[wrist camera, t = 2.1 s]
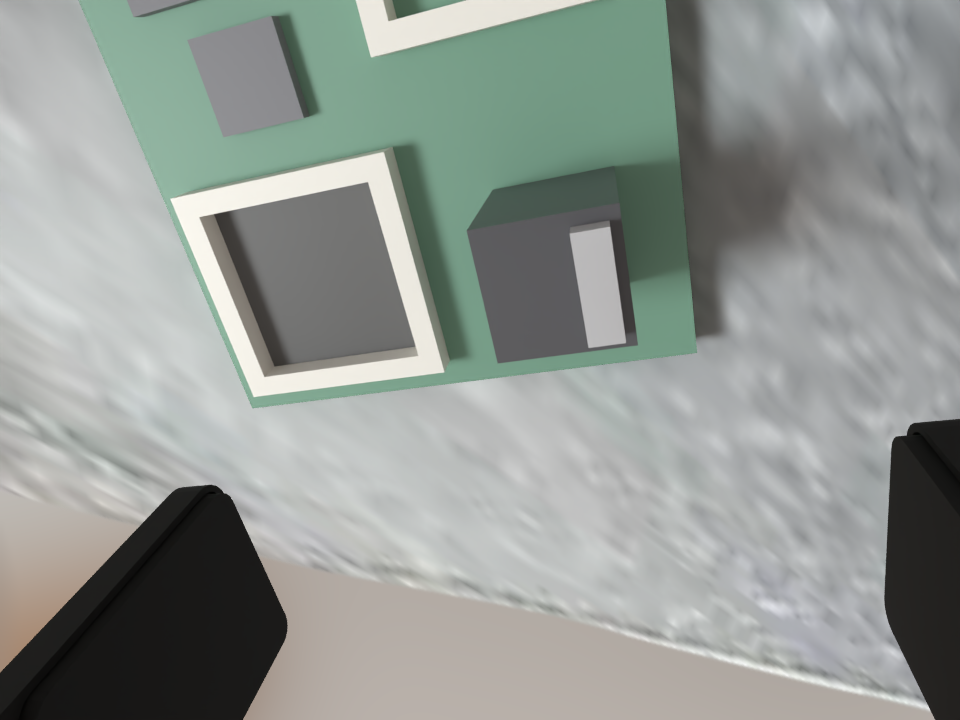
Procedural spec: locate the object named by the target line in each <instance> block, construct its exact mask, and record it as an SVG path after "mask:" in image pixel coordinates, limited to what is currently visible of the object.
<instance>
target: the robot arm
mask: <svg viewBox="0 0 960 720" xmlns="http://www.w3.org/2000/svg"><path fill="white" fill-rule="evenodd" d="M884 600H885V610H886V614H887V618H888V622H889V625H890V627H891V630H892V632H893V634H894V636H895V638H896V640H897V642H898V644H899V646H900V649H901V651H902V653H903V655H904V657H905V659H906V661H907V663H908V665H909V667H910V669H911V671H912V673H913V675H914V677H915V679H916V681H917V683H918V685H919V687H920V690H921V692H922V694H923V696H924V698H925V700H926V702H927V704H928V706H929V708H930V710H931V712H932V714H933V716H934V718H935V720H960V419H955V420H943V421H932V422H920V423H913V424H912V425H910V427H909V429H908V432H907V436H898V437H895V438H894V440H893V442H892V449H891V470H890V491H889V512H888V533H887V554H886V575H885V596H884ZM286 634H287V618H286V615H285V613H284V611H283V609H282V607H281V604H280V602H279V600H278V598H277V596H276V593H275V591H274V589H273V587H272V585H271V583H270V580H269V579H268V576H267V574H266V572H265V570H264V567H263V565H262V563H261V561H260V559H259V557H258V554H257V552H256V550H255V548H254V546H253V544H252V541H251V539H250V537H249V535H248V533H247V531H246V528H245V526H244V524H243V522H242V520H241V518H240V515H239V513H238V511H237V509H236V507H235V504H234V502H233V500H232V499H231V497H230V496H229V495H227V494H225V493H223V491H222V490H221V489H220V488H219V487H217V486H214V485H204V486H192V487H182V488H178V489H176V490H175V491H173V492H172V493H171V494H170V495H169V496H168V497H167V498H166V499H165V500H164V501H163V502H162V503H161V504H160V505H159V507H158V508H157V509H156V510H155V511H154V512H153V513H152V514H151V515H150V516H149V517H148V518H147V519H146V520H145V521H144V522H143V523H142V524H141V525H140V527H139V528H138V529H137V530H136V531H135V532H134V533H133V534H132V535H131V536H130V537H129V538H128V539H127V540H126V541H125V542H124V543H123V544H122V545H121V546H120V548H119V549H118V550H117V551H116V552H115V553H114V554H113V555H112V556H111V557H110V558H109V559H108V560H107V561H106V562H105V563H104V564H103V566H101V567H100V569H99V570H98V571H97V572H96V573H95V574H94V575H93V576H92V577H91V578H90V579H89V580H88V581H87V582H86V583H85V584H84V585H83V587H81V588H80V590H79V591H78V592H77V593H76V594H75V595H74V596H73V597H72V598H71V599H70V600H69V601H68V602H67V603H66V604H65V605H64V606H63V607H62V609H60V611H59V612H58V613H57V614H56V615H55V616H54V617H53V618H52V619H51V620H50V621H49V622H48V623H47V624H46V625H45V626H44V628H42V629H41V630H40V632H39V633H38V634H37V635H36V636H35V637H34V638H33V639H32V640H31V641H30V642H29V643H28V644H27V645H26V646H25V647H24V648H23V649H22V650H21V652H20V653H19V654H18V655H17V656H16V657H15V658H14V659H13V660H12V661H11V662H10V663H9V664H8V665H7V666H6V667H5V668H4V669H3V670H2V672H1V673H0V720H243V718H244V716H245V715H246V713H247V711H248V709H249V707H250V705H251V703H252V701H253V700H254V698H255V696H256V694H257V692H258V690H259V688H260V686H261V684H262V683H263V681H264V678H265V677H266V675H267V673H268V671H269V669H270V667H271V666H272V664H273V662H274V660H275V658H276V656H277V654H278V652H279V650H280V648H281V646H282V645H283V643H284V641H285V638H286Z"/></svg>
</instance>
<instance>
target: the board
mask: <svg viewBox="0 0 960 720" xmlns="http://www.w3.org/2000/svg"><path fill="white" fill-rule="evenodd" d="M79 3H80V5H81V7H82V10H83V12H84V14H85V17H86V19H87V21H88V24H89V26H90V28H91V31H92V33H93V35H94V38H95V40H96V42H97V45H98V47H99V50H100V52H101V54H102V57H103V59H104V61H105V64H106V66H107V68H108V71H109V73H110V75H111V78H112V80H113V82H114V85H115V87H116V89H117V92H118V94H119V96H120V99H121V101H122V103H123V106H124V108H125V110H126V113H127V115H128V118H129V120H130V122H131V125H132V127H133V129H134V132H135V134H136V136H137V139H138V141H139V143H140V146H141V148H142V150H143V153H144V155H145V157H146V160H147V162H148V164H149V167H150V169H151V171H152V174H153V176H154V178H155V181H156V183H157V186H158V188H159V190H160V193H161V195H162V197H163V200H164V202H165V204H166V207H167V209H168V211H169V214H170V216H171V218H172V221H173V223H174V225H175V228H176V230H177V232H178V235H179V237H180V239H181V242H182V244H183V246H184V249H185V251H186V254H187V256H188V258H189V261H190V263H191V265H192V268H193V270H194V272H195V275H196V277H197V279H198V282H199V284H200V286H201V289H202V291H203V293H204V296H205V298H206V300H207V303H208V305H209V307H210V310H211V312H212V314H213V317H214V319H215V322H216V324H217V326H218V329H219V331H220V333H221V336H222V338H223V340H224V343H225V345H226V347H227V350H228V352H229V354H230V357H231V359H232V361H233V364H234V366H235V368H236V371H237V373H238V375H239V378H240V380H241V382H242V385H243V387H244V390H245V392H246V394H247V397H248V399H249V401H250V404H251V406H252V408H259V407H267V406H275V405H283V404H291V403H299V402H307V401H315V400H323V399H331V398H339V397H347V396H355V395H363V394H371V393H379V392H387V391H395V390H403V389H411V388H419V387H427V386H435V385H443V384H451V383H459V382H467V381H476V380H484V379H492V378H500V377H508V376H516V375H524V374H532V373H540V372H548V371H556V370H564V369H572V368H580V367H588V366H596V365H604V364H612V363H620V362H628V361H636V360H644V359H652V358H660V357H668V356H676V355H684V354H692V353H697V347H696V336H695V325H694V314H693V303H692V291H691V280H690V269H689V258H688V247H687V235H686V224H685V213H684V202H683V191H682V179H681V168H680V157H679V146H678V135H677V123H676V112H675V101H674V90H673V79H672V68H671V56H670V45H669V34H668V23H667V12H666V0H79ZM611 166H614V168H615V175H616V182H617V189H618V196H619V203H620V211H621V218H622V226H623V234H624V241H625V249H626V257H627V264H628V272H629V280H630V287H631V295H632V302H633V310H634V318H635V325H636V333H637V341H638V345H637V346H629V347H621V348H614V349H606V350H598V351H591V352H583V353H575V354H568V355H560V356H552V357H545V358H537V359H529V360H521V361H514V362H506V363H497V358H496V354H495V350H494V346H493V341H492V337H491V333H490V329H489V324H488V320H487V316H486V312H485V307H484V303H483V299H482V294H481V290H480V286H479V282H478V277H477V273H476V269H475V265H474V260H473V256H472V252H471V248H470V243H469V239H468V235H467V229H468V228H469V226H470V224H471V223H472V221H473V220H474V218H475V217H476V215H477V213H478V212H479V210H480V209H481V207H482V206H483V204H484V203H485V201H486V199H487V198H488V196H489V195H490V193H491V192H492V190H494V189H499V188H504V187H509V186H514V185H519V184H524V183H530V182H535V181H540V180H545V179H550V178H555V177H560V176H565V175H570V174H575V173H581V172H586V171H591V170H596V169H601V168H606V167H611Z"/></svg>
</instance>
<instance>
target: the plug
mask: <svg viewBox="0 0 960 720" xmlns="http://www.w3.org/2000/svg"><path fill="white" fill-rule="evenodd" d="M467 235H468V239H469V243H470V248H471V252H472V256H473V260H474V265H475V269H476V273H477V277H478V282H479V286H480V290H481V294H482V299H483V303H484V307H485V312H486V316H487V320H488V324H489V329H490V333H491V337H492V341H493V346H494V350H495V354H496V358H497V363H506V362H514V361H521V360H529V359H537V358H545V357H552V356H560V355H568V354H575V353H583V352H591V351H598V350H606V349H614V348H621V347H629V346H637V345H638V341H637V333H636V325H635V318H634V310H633V302H632V295H631V287H630V280H629V272H628V264H627V257H626V249H625V241H624V234H623V226H622V218H621V211H620V203H619V196H618V189H617V182H616V175H615V168H614V166H611V167H606V168H601V169H596V170H591V171H586V172H581V173H575V174H570V175H565V176H560V177H555V178H550V179H545V180H540V181H535V182H530V183H524V184H519V185H514V186H509V187H504V188H499V189H494V190H492V192H491V193H490V195H489V196H488V198H487V199H486V201H485V203H484V204H483V206H482V207H481V209H480V210H479V212H478V213H477V215H476V217H475V218H474V220H473V221H472V223H471V224H470V226H469V228H468V229H467Z"/></svg>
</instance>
